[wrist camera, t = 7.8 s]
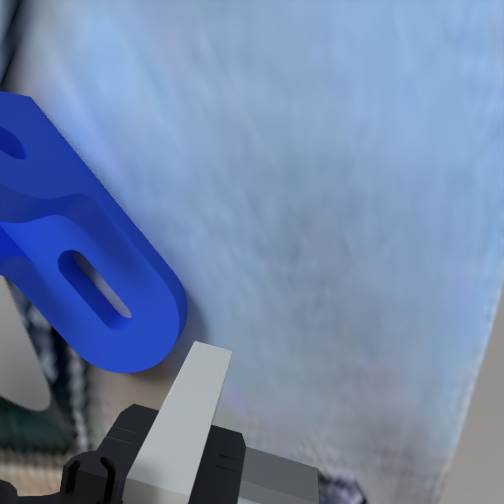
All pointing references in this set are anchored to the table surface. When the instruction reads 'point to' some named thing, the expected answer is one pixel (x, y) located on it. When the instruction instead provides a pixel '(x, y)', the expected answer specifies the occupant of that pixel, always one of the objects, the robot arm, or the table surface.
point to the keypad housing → (277, 480)
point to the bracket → (80, 248)
